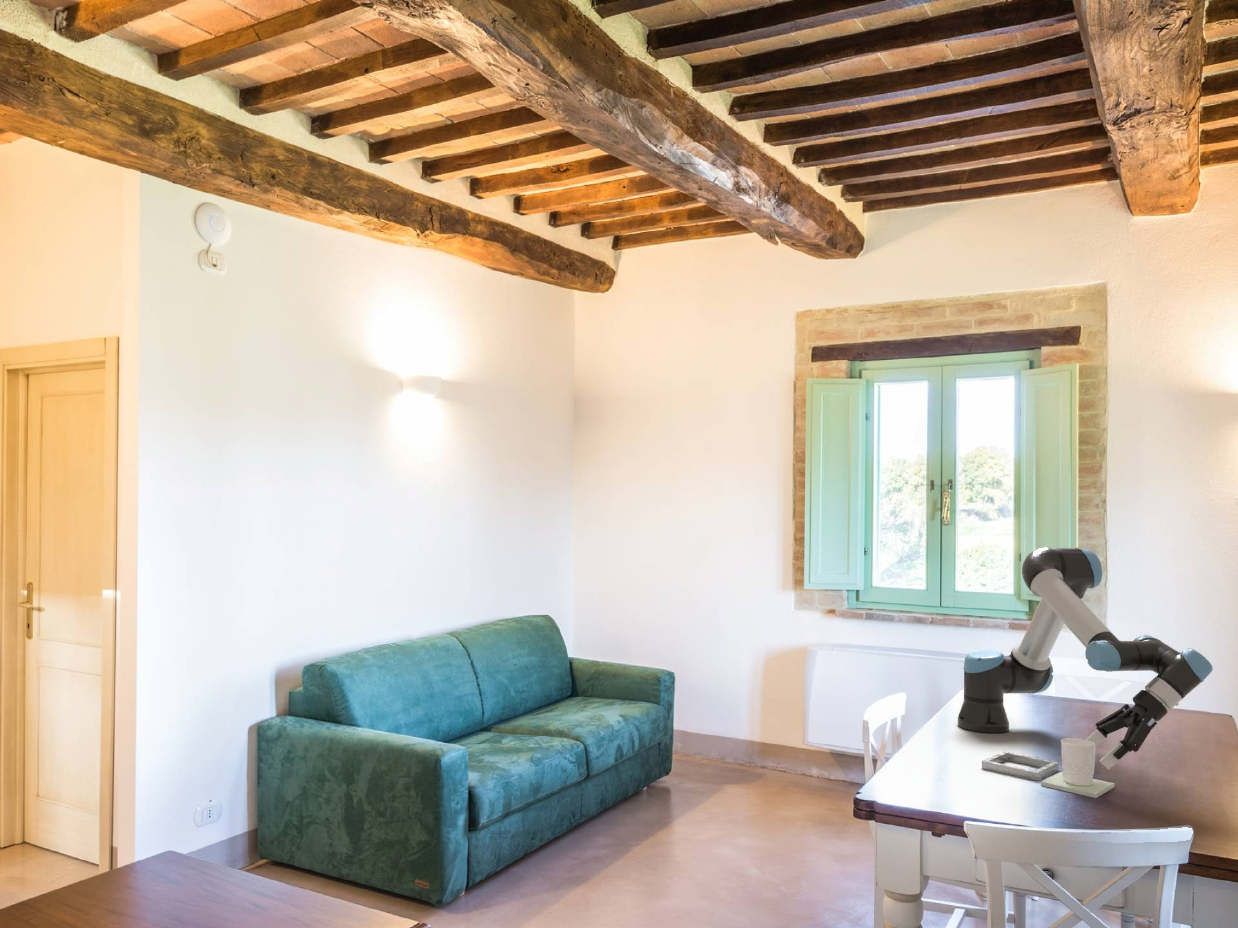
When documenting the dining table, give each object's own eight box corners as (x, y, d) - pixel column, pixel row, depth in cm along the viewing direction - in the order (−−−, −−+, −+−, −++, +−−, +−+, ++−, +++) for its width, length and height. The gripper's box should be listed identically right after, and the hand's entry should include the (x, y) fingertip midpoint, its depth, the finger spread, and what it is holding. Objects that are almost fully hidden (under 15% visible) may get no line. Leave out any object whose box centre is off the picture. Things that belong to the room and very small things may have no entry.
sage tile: (1041, 785, 239) (1041, 781, 239) (1060, 775, 248) (1060, 771, 248) (1096, 797, 229) (1096, 793, 229) (1114, 787, 239) (1114, 783, 239)
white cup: (1092, 779, 241) (1093, 739, 241) (1097, 788, 234) (1098, 747, 234) (1058, 775, 244) (1059, 736, 244) (1062, 784, 236) (1063, 744, 236)
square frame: (981, 768, 253) (981, 760, 253) (1004, 758, 263) (1004, 751, 263) (1037, 780, 242) (1037, 772, 243) (1058, 770, 253) (1058, 762, 253)
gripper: (1192, 722, 224) (1125, 783, 225) (1144, 700, 249) (1084, 755, 250) (1168, 699, 225) (1101, 760, 226) (1123, 679, 250) (1063, 734, 251)
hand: (1092, 757), depth 238 cm, fingers open, 13 cm apart
